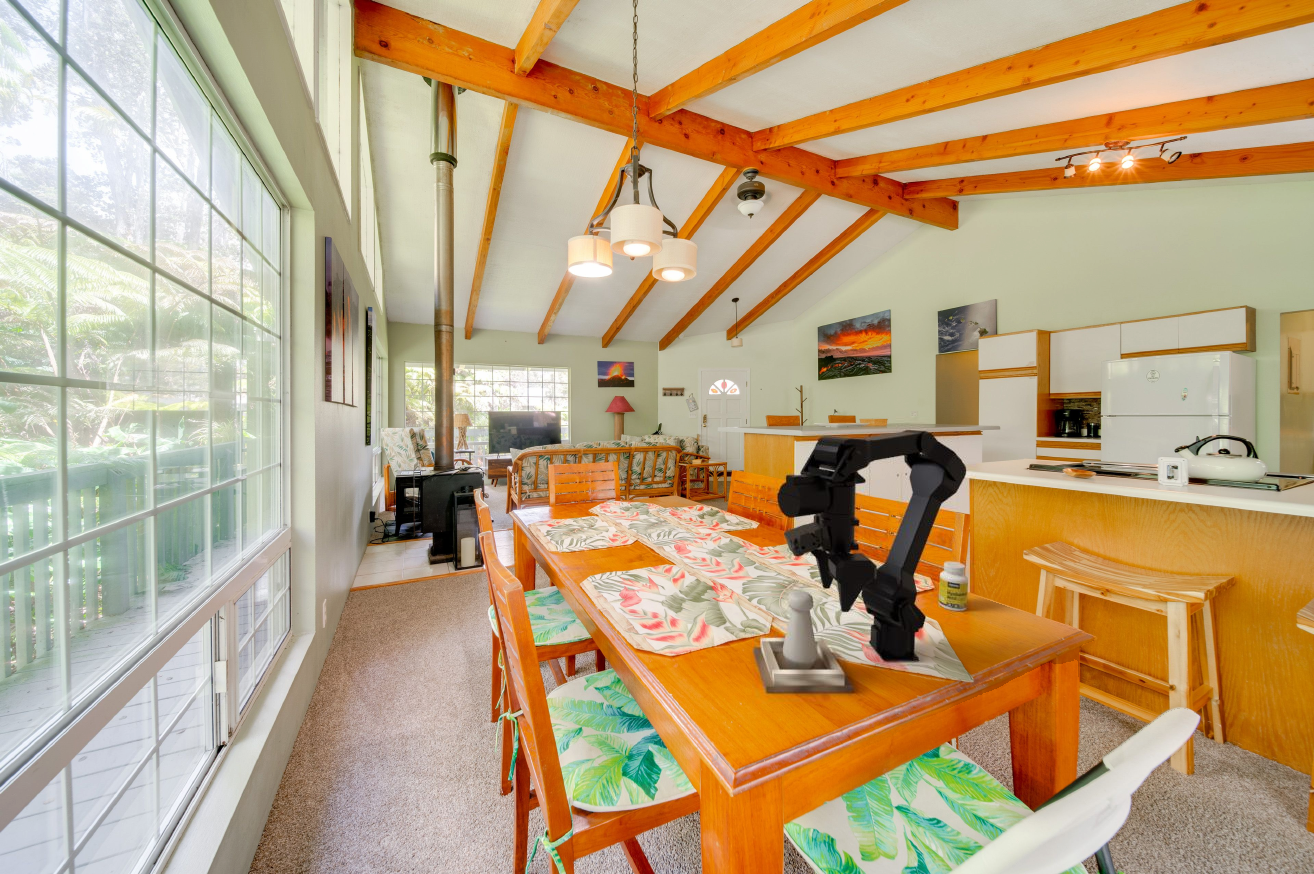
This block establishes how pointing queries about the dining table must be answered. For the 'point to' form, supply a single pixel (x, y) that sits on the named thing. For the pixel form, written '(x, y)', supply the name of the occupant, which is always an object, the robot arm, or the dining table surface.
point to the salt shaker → (800, 633)
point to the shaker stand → (787, 680)
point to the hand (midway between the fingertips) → (835, 599)
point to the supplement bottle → (953, 587)
